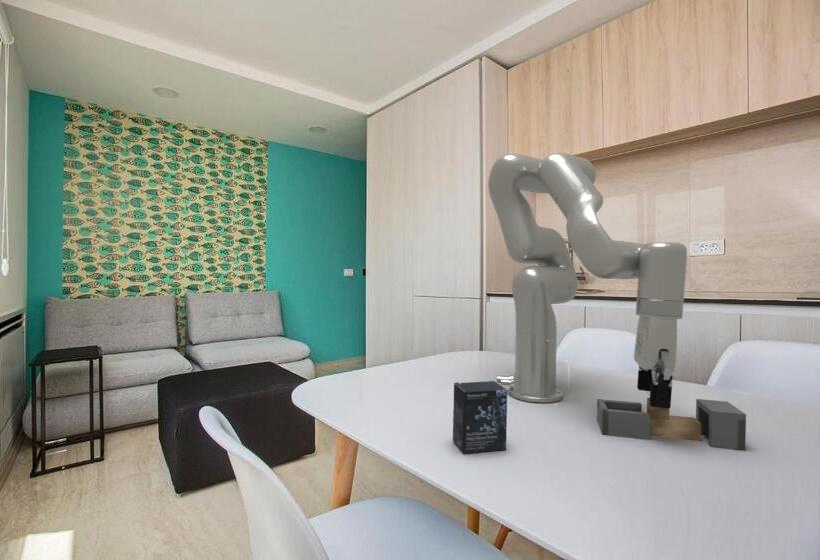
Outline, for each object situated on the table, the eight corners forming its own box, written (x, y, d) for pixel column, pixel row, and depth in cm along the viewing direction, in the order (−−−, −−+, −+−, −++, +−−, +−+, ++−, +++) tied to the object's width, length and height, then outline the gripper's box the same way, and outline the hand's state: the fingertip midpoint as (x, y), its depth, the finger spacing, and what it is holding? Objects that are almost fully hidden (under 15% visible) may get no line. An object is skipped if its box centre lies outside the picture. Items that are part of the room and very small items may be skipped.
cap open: (602, 434, 78) (602, 410, 78) (597, 420, 85) (597, 398, 85) (649, 439, 75) (650, 415, 75) (640, 425, 82) (640, 402, 82)
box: (463, 455, 69) (464, 391, 68) (452, 441, 74) (452, 382, 74) (507, 451, 70) (508, 388, 70) (493, 437, 76) (494, 379, 76)
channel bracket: (710, 446, 73) (711, 411, 72) (695, 431, 80) (696, 398, 80) (745, 450, 71) (746, 414, 71) (726, 434, 78) (727, 401, 78)
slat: (609, 432, 79) (609, 398, 79) (606, 427, 82) (607, 394, 82) (700, 442, 75) (701, 406, 75) (694, 436, 78) (695, 401, 78)
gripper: (627, 302, 87) (622, 383, 88) (648, 312, 71) (641, 411, 72) (668, 305, 85) (662, 387, 86) (699, 316, 69) (691, 417, 70)
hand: (652, 398), depth 79 cm, fingers open, 9 cm apart
